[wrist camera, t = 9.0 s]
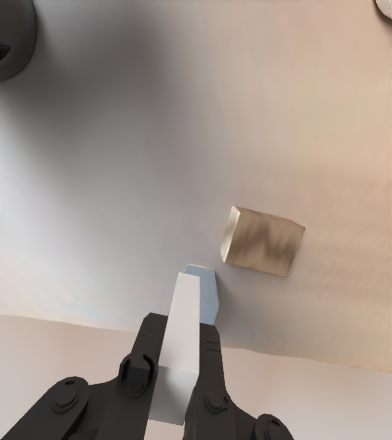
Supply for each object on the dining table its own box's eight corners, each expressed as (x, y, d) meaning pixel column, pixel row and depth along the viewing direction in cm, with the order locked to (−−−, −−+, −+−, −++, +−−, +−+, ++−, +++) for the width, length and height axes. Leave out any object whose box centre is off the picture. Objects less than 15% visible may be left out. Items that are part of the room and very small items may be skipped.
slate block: (187, 263, 35) (182, 298, 25) (214, 269, 35) (219, 306, 25) (177, 300, 37) (169, 346, 27) (203, 306, 37) (204, 354, 27)
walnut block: (238, 211, 27) (305, 228, 28) (232, 205, 32) (290, 219, 33) (223, 262, 29) (286, 276, 30) (219, 249, 34) (274, 262, 35)
